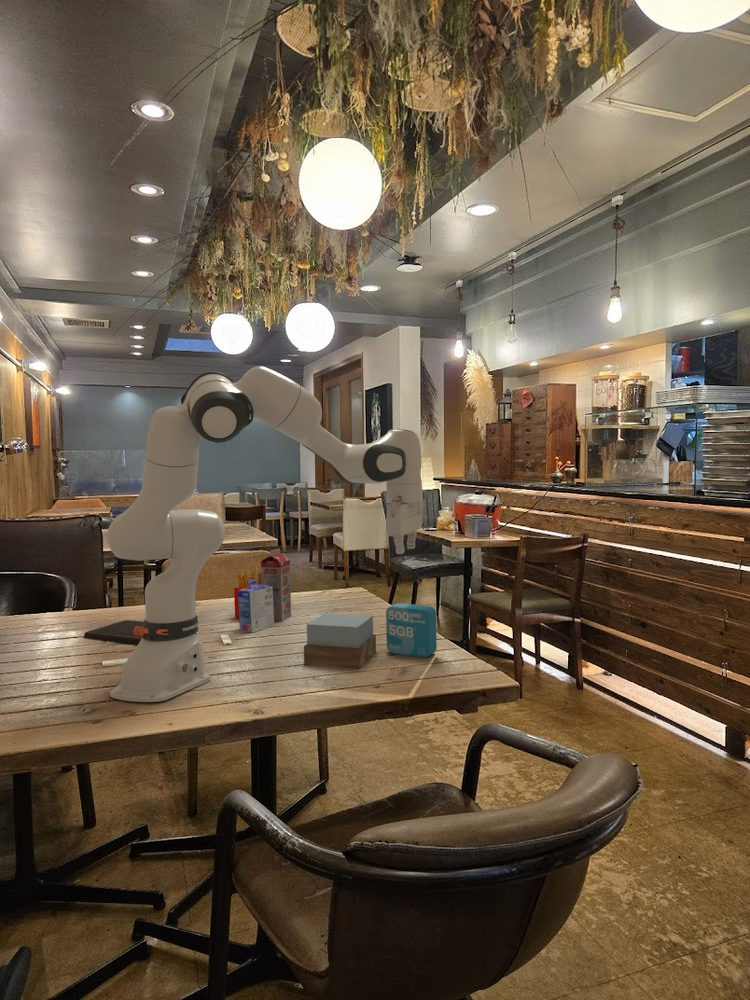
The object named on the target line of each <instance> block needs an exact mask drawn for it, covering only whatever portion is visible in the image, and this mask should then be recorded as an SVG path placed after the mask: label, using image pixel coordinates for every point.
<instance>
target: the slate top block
mask: <svg viewBox="0 0 750 1000" xmlns="http://www.w3.org/2000/svg"><path fill="white" fill-rule="evenodd" d="M373 634H374V616H373V615H366V614H365V615H364V614H348V613H345V614H344V613H329V612H327V613H326V612H325V613H322V615H321V614H320V616H318V617H316V618H315V619H313V620H311V621H309V622H308V623H307V624H306V644H307V645H319V646H333V647H348V648H359V647H360V646H361V645H363V644H364V643H365V642H366V641H367V640H368V639H369V638H371V637H372V636H373Z"/></svg>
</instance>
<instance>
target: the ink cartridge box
mask: <svg viewBox="0 0 750 1000" xmlns="http://www.w3.org/2000/svg"><path fill="white" fill-rule="evenodd" d="M251 579H252V578H251ZM247 582H248V587H249V588H246V589H242V590H238V606H239V619H238V620H239V623H238V624H239V631H240V632H243V633H248V634H251V633H256V632H259V631H262V630H264V629H268V628H271V627H274V626H275V621H274V612H273V590H272V586H268V585H258V582H257V578H256V579H252V580H249V579H247ZM251 582H256V584H252V585H251V584H250V583H251Z"/></svg>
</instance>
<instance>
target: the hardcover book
mask: <svg viewBox="0 0 750 1000" xmlns="http://www.w3.org/2000/svg"><path fill="white" fill-rule="evenodd" d="M143 624H144V621H142V620H141V621H139V620H128V619H125V620H122V621H118V622H114V623H112V624H108V625H105V626H100V627H98V628H95V629H91V630H87V631H85V632H84V633H83V634H84V635H83V637H84V639H89V640H90V639H91V640H95V641H102V642H103V641H104V642H111V643H118V644H125V645H133V646H137V645H138V644H139V642H140V641H141V639H142V638H141V635H135V634H134V633H135V632H133V631H134V629H135V627H136V626H139V627H143Z"/></svg>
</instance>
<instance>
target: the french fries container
mask: <svg viewBox="0 0 750 1000" xmlns="http://www.w3.org/2000/svg"><path fill="white" fill-rule="evenodd" d="M252 579H256V581H257V582H258V585H262V584H261V572H257V574H256V571H253V572H251V575H250V576H248V574H247V573H243V574H238V575H237V581H238V587H233V595H234V596H233V597H234V599H233V600H234V617H235V618H236V619H237V620H239V606H238V590H242V589H246V588H249V585H248V582H247V580H252ZM250 584H251V585H252V584H256V582H251V583H250Z"/></svg>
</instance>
